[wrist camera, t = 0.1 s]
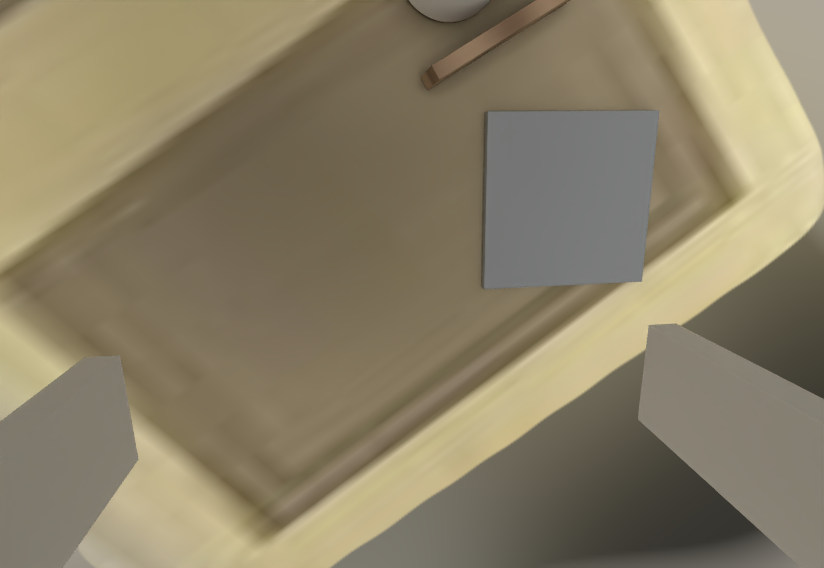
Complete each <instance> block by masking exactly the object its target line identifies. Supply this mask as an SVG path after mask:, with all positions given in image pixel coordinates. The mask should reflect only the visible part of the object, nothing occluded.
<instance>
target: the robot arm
mask: <svg viewBox="0 0 824 568" xmlns="http://www.w3.org/2000/svg"><path fill="white" fill-rule="evenodd" d="M638 420H640V421H641V422H642V423H643V424H644V425H645V426H646V427H647V428H648V429H649V430H651V431H652V432H653V433H654V434H655V435H656V436H657V437H658V438H659V439H660V440H661V441H663V442H664V443H665V444H666V445H667V446H668V447H669V448H670V449H672V451H674V452H675V453H676V454H677V455H678V456H679V457H680V458H681V459H682V460H684V461H685V462H686V463H687V464H688V465H689V466H690V467H691V468H692V469H693V470H695V471H696V472H697V473H698V474H699V475H700V476H701V477H702V478H703V479H704V480H706V481H707V482H708V483H709V484H710V485H711V486H712V487H713V488H715V490H717V491H718V492H719V493H720V494H721V495H722V496H723V497H724V498H725V499H726V500H727V501H729V502H730V503H731V504H732V505H733V506H734V507H735V508H736V509H737V510H738V511H740V512H741V513H742V514H743V515H744V516H745V517H746V518H747V519H748V520H749V521H751V522H752V523H753V524H754V525H755V526H756V527H757V528H758V529H759V530H760V531H761V532H763V533H764V534H765V535H766V536H767V537H768V538H769V539H770V540H772V542H774V543H775V544H776V545H777V546H778V547H779V548H780V549H781V550H782V551H784V552H785V553H786V554H787V555H788V556H789V557H790V558H791V559H792V560H793V561H795V562H796V563H797V564H798V565H799V566H800V567H801V568H824V399H822V398H820V397H818V396H816V395H814V394H812V393H810V392H808V391H806V390H804V389H802V388H801V387H799V386H797V385H795V384H793V383H791V382H789V381H787V380H785V379H783V378H781V377H779V376H777V375H775V374H773V373H771V372H769V371H767V370H765V369H764V368H762V367H760V366H757V365H756V364H754V363H752V362H749V361H748V360H746V359H744V358H742V357H740V356H738V355H736V354H734V353H732V352H730V351H728V350H726V349H724V348H722V347H721V346H719V345H717V344H714V343H713V342H711V341H709V340H707V339H705V338H703V337H701V336H699V335H697V334H695V333H693V332H691V331H689V330H687V329H685V328H683V327H681V326H680V325H678V324H661V325H649V328H648V337H647V345H646V354H645V363H644V371H643V380H642V388H641V397H640V406H639V414H638ZM137 461H138V454H137V449H136V443H135V438H134V432H133V426H132V421H131V415H130V409H129V404H128V398H127V392H126V387H125V381H124V375H123V370H122V364H121V359H120V355H119V356H101V357H85V358H83V359H82V360H81V361H79V362H78V363H77V364H75V365H74V366H73V367H71V368H70V369H69V370H67V371H66V372H65V373H64V374H62V375H61V376H60V377H58V378H57V379H56V380H54V381H53V382H52V383H50V384H49V385H48V386H46V387H45V388H44V389H42V390H41V391H40V392H39V393H37V394H36V395H35V396H33V397H32V398H31V399H29V400H28V401H27V402H25V403H24V404H23V405H21V406H20V407H19V408H17V409H16V410H15V411H13V412H12V413H11V414H10V415H8V416H7V417H6V418H4V419H3V420H2V421H0V568H63V567H64V565H65V564H66V562H67V561H68V560H69V558H70V557H71V555H72V554H73V552H74V551H75V550H76V548H77V547H78V545H79V544H80V542H81V541H82V540H83V538H84V537H85V535H86V534H87V532H88V531H89V530H90V528H91V527H92V525H93V524H94V522H95V521H96V520H97V518H98V517H99V515H100V514H101V512H102V511H103V509H104V508H105V507H106V505H107V504H108V502H109V501H110V499H111V498H112V497H113V495H114V494H115V492H116V491H117V489H118V488H119V486H120V485H121V484H122V482H123V481H124V479H125V478H126V476H127V475H128V474H129V472H130V471H131V469H132V468H133V466H134V465H135V464H136V462H137Z"/></svg>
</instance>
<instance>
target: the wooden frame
mask: <svg viewBox="0 0 824 568" xmlns="http://www.w3.org/2000/svg"><path fill="white" fill-rule="evenodd" d="M568 1H570V0H535V1H534V2H532V3H531V4H529V5H527V6H526V7H524V8H523V9H521V10H519V11H518V12H516V13H515V14H513V15H511V16H510V17H508V18H507V19H505V20H503V21H502V22H500V23H499V24H497V25H495V26H494V27H492V28H491V29H489V30H488V31H486V32H484V33H483V34H481V35H480V36H478V37H476V38H475V39H473V40H472V41H470V42H468V43H467V44H465V45H464V46H462V47H460V48H459V49H457V50H456V51H454V52H452V53H451V54H449V55H448V56H446V57H444V58H443V59H441V60H440V61H438V62H436V63H435V64H433V65H432V66H431V67H430V68H429V69H428V70H427V71H426V73H425V74H424V75H423V76H422V77H421V79H422V81H423V83H424V85H425V86H426V88H427V90H429V89H430V88H432V87H433V86H435V85H437V84H438V83H440V82H441V81H443V80H445V79H446V78H448V77H449V76H451V75H453V74H454V73H456V72H457V71H459V70H461V69H462V68H464V67H465V66H467V65H469V64H470V63H472V62H473V61H475V60H477V59H478V58H480V57H481V56H483V55H484V54H486V53H488V52H489V51H491V50H492V49H494V48H496V47H497V46H499V45H500V44H502V43H504V42H505V41H507V40H508V39H510V38H512V37H513V36H515V35H516V34H518V33H520V32H521V31H523V30H524V29H526V28H528V27H529V26H531V25H532V24H534V23H536V22H537V21H539V20H540V19H542V18H544V17H545V16H547V15H548V14H550V13H552V12H553V11H555V10H556V9H558V8H560V7H561V6H563V5H564V4H566V3H567V2H568Z"/></svg>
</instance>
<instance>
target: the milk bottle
mask: <svg viewBox="0 0 824 568" xmlns="http://www.w3.org/2000/svg"><path fill="white" fill-rule="evenodd" d="M490 1H491V0H409V2H410V3H411V4H412V5H413V6H414V7H415V8H416V9H417V10H418V11H419V12H421V13H422V14H424V15H425V16H427V17H429V18H432V19H434V20H437V21H442V22H457V21H462V20H465V19H468V18H470V17H472V16H474V15H475V14H477V13H478V12H479V11H480V10H482V9H483V8H484V7H485V6H486V5H487V4H488V3H489V2H490Z"/></svg>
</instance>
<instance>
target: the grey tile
mask: <svg viewBox="0 0 824 568" xmlns="http://www.w3.org/2000/svg"><path fill="white" fill-rule="evenodd" d="M658 119H659V111H488V112H485V143H484V194H483V244H482V288H483V289H498V288H519V287H539V286H559V285H580V284H600V283H621V282H641V281H642V274H643V265H644V255H645V245H646V236H647V226H648V216H649V206H650V197H651V187H652V177H653V168H654V158H655V148H656V139H657V129H658Z"/></svg>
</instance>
